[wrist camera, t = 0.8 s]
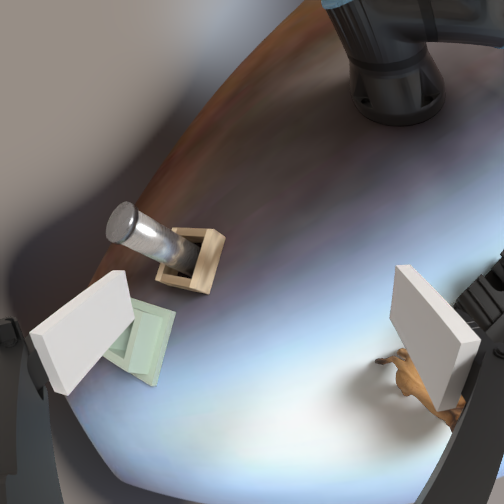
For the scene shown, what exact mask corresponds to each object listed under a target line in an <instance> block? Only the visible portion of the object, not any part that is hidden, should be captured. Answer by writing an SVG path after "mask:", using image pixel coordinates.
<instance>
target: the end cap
mask: <svg viewBox="0 0 504 504" xmlns="http://www.w3.org/2000/svg"><path fill="white" fill-rule="evenodd" d="M500 255H501V256H502V257H501V259H500V260H499V261H498V262H497V263H496V264H495V265H494V266H493V267H492V269H491V271H490V272H489V273H488V274H487V275H486V276H485V277H484V276H483V275H482V274H481V275H480V276H479V277H478V278H477V279H476V280H475V281H474V282H473V283H472V284H471V285H470V286H469V287H468V288H467V289H466V290H465V291H464V292H463V293H462V294H461V295H460V296H459V297H458V299H457V301H456V303H455V304H454V306H453V307H454V309H460V310H461V311H463V312H465V313H467V314H468V315H469V316H470V317H471V318H472V319H473V320H474V322H476V323H477V324H478V325H479V328H481V329H482V330H483V331H484V332H485V333H486V334H487V335H488V336H489V337H490V339H491V340H492V341H493V342H494V343H498V342H501V343H504V250H503V251H502V252H501V254H500Z"/></svg>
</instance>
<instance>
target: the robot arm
mask: <svg viewBox="0 0 504 504" xmlns="http://www.w3.org/2000/svg"><path fill="white" fill-rule="evenodd" d="M321 1H322V2H321V3H322V6H323V8H324V9H326V11H327V13H328V15H329V17H330V19H331V21H332V23H333V25H334V27H335V30H336V32H337V34H338V36H339V38H340V40H341V42H342V45H343V47H344V49H345V51H346V53H347V56H348V58H349V62H350V93H351V96H352V98H353V101H354V103H355V106H356V107H357V109H358V110H359V111H360V112H361V113H362V114H363V115H364V116H366V117H367V118H369V119H371V120H373V121H375V122H378V123H381V124H386V125H393V126H405V125H413V124H417V123H420V122H423V121H426V120H428V119H429V118H431V117H433V116H434V115H435V114H437V113H438V112H439V110H440V109H441V108H442V106H443V104H444V101H445V85H444V80H443V77H442V75H441V73H440V71H439V69H438V68H437V66H436V64H435V62H434V60H433V58H432V57H431V55H430V53H429V51H428V49H427V45H426V42H446V43H462V44H474V45H483V46H491V47H495V48H498V49H500V48H501V49H504V0H321ZM134 319H135V316H134V312H133V308H132V303H131V299H130V294H129V289H128V284H127V279H126V274H125V270H112V271H111V272H110V273H108V274H107V275H105V276H104V277H103V278H101V279H100V280H98V281H97V282H96V283H94V284H93V285H91V286H90V287H89V288H87V289H86V290H85V291H83V292H82V293H80V294H79V295H78V296H76V297H75V298H74V299H72V300H71V301H70V302H68V303H67V304H66V305H64V306H63V307H62V308H60V309H59V310H58V311H57V312H55V313H54V314H52V315H51V316H50V317H48V318H47V319H46V320H45V321H43V322H42V323H41V324H40V325H38V326H37V327H36V328H34V329H33V330H32V331H31V332H29V335H28V336H27V337H25V338H24V337H23V334H22V331H21V329H20V326H19V323H18V321H17V318H15V317H6V318H3V319H0V504H64V502H63V498H62V493H61V489H60V484H59V479H58V474H57V469H56V463H55V457H54V451H53V444H52V436H51V427H50V417H49V406H48V405H49V404H48V392H47V389H46V387H45V384H46V382H47V381H48V380H49V381H50V383H51V385H52V387H53V389H54V391H55V392H57V393H60V394H64V395H67V396H68V395H69V394H70V393H71V392H72V390H73V389H74V388H75V387H76V386H77V384H78V383H79V382H80V381H81V380H82V379H83V377H84V376H85V375H86V374H87V373H88V372H89V370H90V369H91V368H92V367H93V366H94V365H95V363H96V362H97V361H98V360H99V359H100V358H101V356H102V355H103V354H104V353H105V352H106V351H107V350H108V348H109V347H110V346H111V345H112V344H113V343H114V342H115V340H116V339H117V338H118V337H119V336H120V335H121V334H122V333H123V331H124V330H125V329H126V328H127V327H128V326H129V325H130V324H131V322H132V321H133V320H134ZM390 320H391V322H392V324H393V326H394V327H395V329H396V331H397V333H398V335H399V337H400V339H401V340H402V342H403V344H404V346H405V348H406V350H407V352H408V354H409V356H410V358H411V360H412V362H413V363H414V365H415V367H416V369H417V371H418V373H419V375H420V377H421V380H422V382H423V384H424V386H425V388H426V390H427V392H428V394H429V396H430V398H431V400H432V403H433V405H434V407H435V409H436V411H437V412H439V411H444V410H449V409H453V408H456V406H457V404H458V401H459V399H460V397H461V394H462V396H463V398H464V400H465V402H466V403H465V405H464V407H463V409H462V412H461V414H460V416H459V418H458V420H457V422H456V424H455V425H456V426H455V428H454V431H453V433H452V435H451V437H450V439H449V442H448V444H447V446H446V448H445V450H444V452H443V454H442V456H441V458H440V460H439V462H438V463H437V465H436V467H435V469H434V471H433V473H432V474H431V476H430V478H429V480H428V482H427V483H426V485H425V487H424V488H423V490H422V492H421V493H420V495H419V496H418V498H417V500H416V501H415V503H414V504H487V501H488V499H489V496H490V493H491V491H492V488H493V485H494V483H495V480H496V477H497V474H498V471H499V468H500V464H501V461H502V458H503V454H504V343H501V342H498V343H494V342H493V341H492V340H491V339H490V337H489V336H488V335H487V334H486V333H485V332H484V331H483V330H482V329H481V328H479V325H478V324H477V323H476V322H474V320H473V319H472V318H471V317H470V316H469V315H468V314H467V313H465V312H463V311H461V310H460V309H453V308H452V307H451V306H450V305H449V304H448V303H447V301H446V300H445V299H444V298H443V297H442V296H441V295H440V294H439V293H438V292H437V291H436V290H435V289H434V288H433V287H432V286H431V285H430V284H429V283H428V282H427V281H426V280H425V279H424V278H423V277H422V276H421V275H420V274H419V273H418V272H417V271H416V270H415V269H414V268H413V267H412V266H411V265H396V267H395V277H394V287H393V295H392V303H391V311H390Z"/></svg>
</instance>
